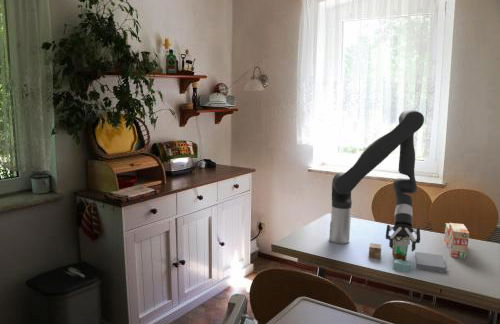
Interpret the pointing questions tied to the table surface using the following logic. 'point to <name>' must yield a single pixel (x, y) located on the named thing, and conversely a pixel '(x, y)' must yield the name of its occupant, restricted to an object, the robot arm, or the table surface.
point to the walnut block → (375, 251)
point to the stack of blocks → (456, 239)
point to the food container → (400, 247)
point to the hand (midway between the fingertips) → (402, 249)
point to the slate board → (430, 262)
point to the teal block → (401, 265)
